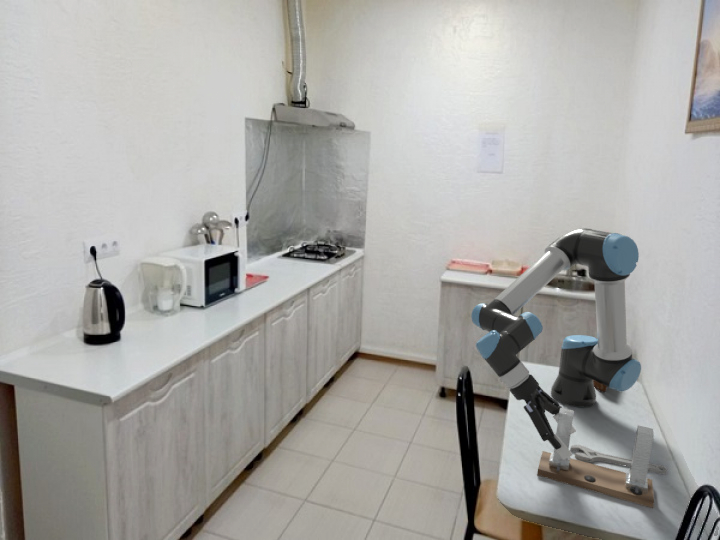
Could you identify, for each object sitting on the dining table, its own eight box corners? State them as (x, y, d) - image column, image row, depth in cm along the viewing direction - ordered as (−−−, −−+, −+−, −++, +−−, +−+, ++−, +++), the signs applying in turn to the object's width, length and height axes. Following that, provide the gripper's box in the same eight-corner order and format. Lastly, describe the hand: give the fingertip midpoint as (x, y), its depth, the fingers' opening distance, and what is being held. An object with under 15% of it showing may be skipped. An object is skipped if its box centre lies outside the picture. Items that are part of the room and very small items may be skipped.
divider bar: (541, 457, 153) (542, 450, 153) (650, 486, 141) (652, 479, 141) (537, 475, 144) (538, 468, 144) (652, 508, 133) (654, 500, 132)
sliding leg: (550, 456, 149) (557, 405, 146) (569, 461, 147) (577, 410, 144) (548, 468, 143) (555, 416, 140) (567, 474, 141) (575, 421, 138)
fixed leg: (625, 477, 141) (634, 423, 138) (646, 483, 139) (656, 428, 136) (625, 491, 136) (635, 435, 132) (647, 497, 133) (657, 440, 130)
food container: (591, 378, 209) (595, 354, 207) (608, 382, 206) (612, 358, 204) (587, 389, 199) (590, 364, 196) (605, 393, 196) (608, 368, 193)
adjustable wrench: (665, 471, 149) (666, 465, 149) (668, 484, 144) (669, 478, 143) (571, 447, 159) (572, 442, 159) (570, 458, 153) (571, 453, 153)
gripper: (516, 372, 159) (562, 430, 156) (499, 406, 137) (553, 474, 134) (536, 359, 156) (584, 418, 153) (522, 392, 134) (578, 461, 131)
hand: (570, 444), depth 144 cm, fingers open, 13 cm apart
